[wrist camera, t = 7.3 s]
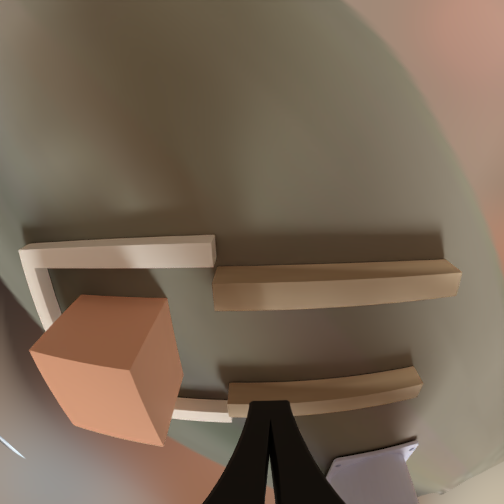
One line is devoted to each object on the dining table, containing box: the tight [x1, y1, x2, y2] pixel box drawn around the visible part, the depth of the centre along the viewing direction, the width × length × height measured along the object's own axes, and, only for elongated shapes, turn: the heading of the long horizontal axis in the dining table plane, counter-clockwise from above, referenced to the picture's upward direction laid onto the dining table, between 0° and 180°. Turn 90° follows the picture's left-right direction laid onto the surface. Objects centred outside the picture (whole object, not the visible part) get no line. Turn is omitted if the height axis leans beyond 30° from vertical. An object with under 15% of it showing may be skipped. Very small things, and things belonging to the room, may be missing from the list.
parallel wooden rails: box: [212, 259, 462, 417], centre depth 13 cm, size 8×11×2 cm
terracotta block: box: [29, 295, 183, 446], centre depth 12 cm, size 5×5×5 cm
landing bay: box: [19, 235, 232, 422], centre depth 13 cm, size 11×10×1 cm
